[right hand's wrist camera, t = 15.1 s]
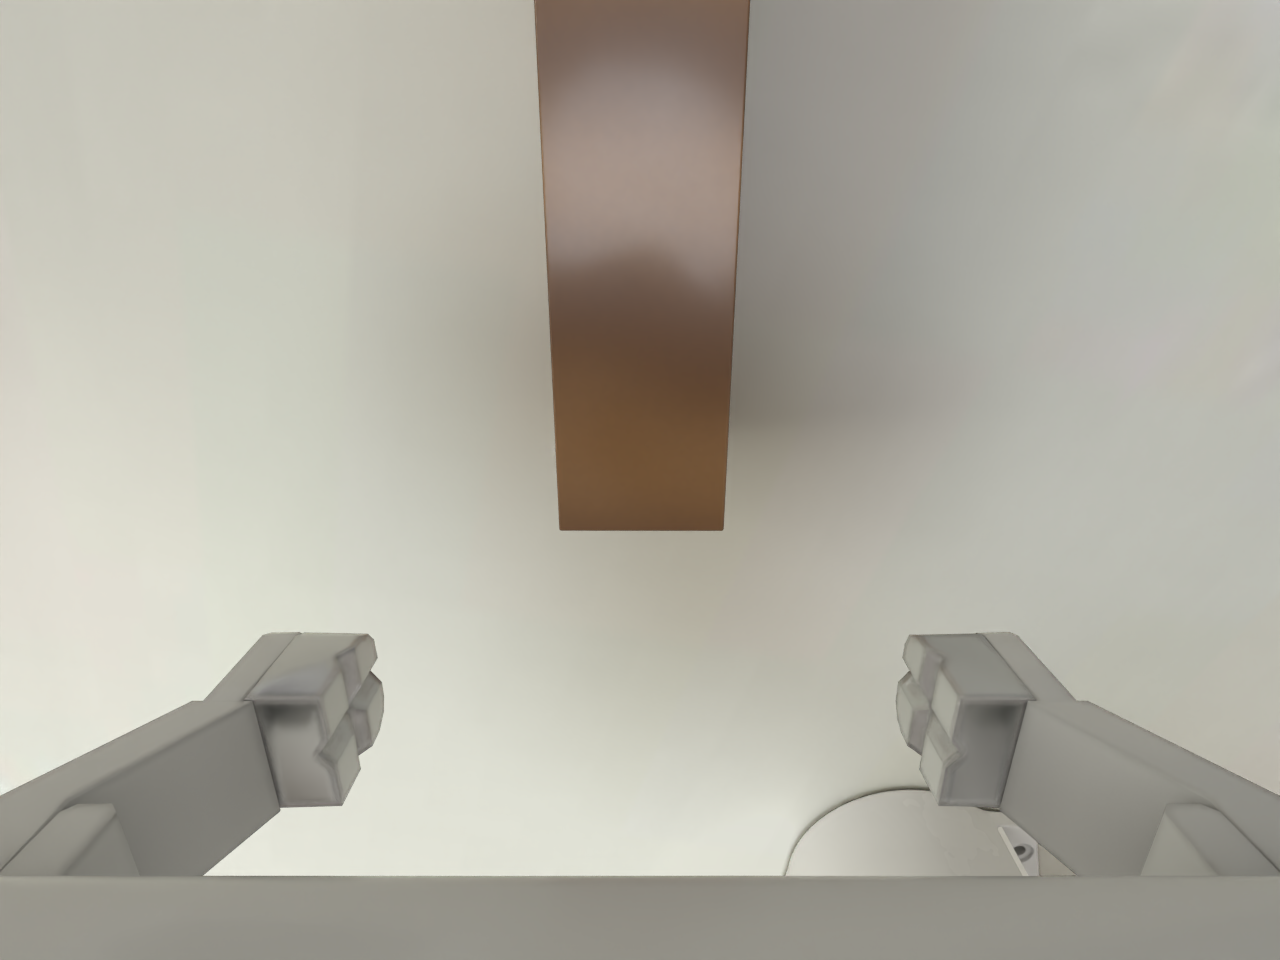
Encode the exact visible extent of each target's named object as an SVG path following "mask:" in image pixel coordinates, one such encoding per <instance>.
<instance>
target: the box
mask: <svg viewBox="0 0 1280 960" xmlns="http://www.w3.org/2000/svg"><path fill="white" fill-rule="evenodd" d="M534 7H535V28H536V49H537V70H538V91H539V112H540V133H541V154H542V175H543V196H544V216H545V237H546V258H547V279H548V300H549V321H550V342H551V363H552V384H553V405H554V426H555V447H556V468H557V489H558V509H559V529H560V530H589V531H722V530H723V529H724V510H725V490H726V470H727V450H728V431H729V411H730V391H731V371H732V351H733V331H734V311H735V291H736V271H737V251H738V232H739V212H740V192H741V172H742V152H743V132H744V112H745V92H746V72H747V52H748V33H749V13H750V0H534Z"/></svg>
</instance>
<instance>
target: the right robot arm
mask: <svg viewBox="0 0 1280 960" xmlns="http://www.w3.org/2000/svg"><path fill="white" fill-rule="evenodd" d="M377 658H378V657H377V652H376V648H375V643H374V639H373V638H372V637H371V636H370V635H369V634H352V633H300V632H272V633H268V634H265V635H262V637H261V638H260V639H259V640H258V641H257V642H256V643H255V644H254V645H253V646H252V647H251V649H250V650H249V651H248V652H247V653H246V654H245V655H244V656H243V657H242V659H241V660H240V661H239V662H238V663H237V664H236V665H235V666H234V667H233V669H232V670H231V671H230V672H229V673H228V674H227V675H226V676H225V677H224V678H223V680H222V681H221V682H220V683H219V684H218V685H217V686H216V687H215V688H214V690H213V691H212V692H211V693H210V694H209V695H208V696H207V697H206V698H205V699H204V701H191V702H189V703H187V704H185V705H183V706H181V707H179V708H177V709H175V710H173V711H171V712H169V713H167V714H165V715H163V716H161V717H159V718H157V719H155V720H153V721H151V722H149V723H147V724H145V725H143V726H141V727H139V728H137V729H135V730H132V731H130V732H128V733H126V734H124V735H122V736H120V737H118V738H116V739H114V740H112V741H110V742H108V743H106V744H104V745H102V746H100V747H98V748H96V749H94V750H92V751H90V752H88V753H86V754H84V755H82V756H80V757H78V758H76V759H74V760H72V761H70V762H68V763H66V764H64V765H62V766H60V767H58V768H56V769H54V770H51V771H49V772H47V773H45V774H43V775H41V776H39V777H37V778H35V779H33V780H31V781H29V782H27V783H25V784H23V785H21V786H19V787H17V788H15V789H13V790H11V791H9V792H7V793H5V794H3V795H1V796H0V960H1280V796H1279V795H1277V794H1275V793H1273V792H1271V791H1269V790H1266V789H1264V788H1262V787H1260V786H1258V785H1256V784H1254V783H1252V782H1250V781H1248V780H1246V779H1244V778H1242V777H1240V776H1238V775H1236V774H1234V773H1232V772H1230V771H1228V770H1226V769H1224V768H1222V767H1220V766H1218V765H1216V764H1214V763H1212V762H1210V761H1208V760H1206V759H1204V758H1202V757H1200V756H1198V755H1196V754H1194V753H1192V752H1190V751H1188V750H1186V749H1184V748H1182V747H1180V746H1178V745H1176V744H1174V743H1172V742H1170V741H1168V740H1166V739H1164V738H1161V737H1159V736H1157V735H1155V734H1153V733H1151V732H1149V731H1147V730H1145V729H1143V728H1141V727H1139V726H1137V725H1135V724H1133V723H1131V722H1129V721H1127V720H1125V719H1123V718H1121V717H1119V716H1117V715H1115V714H1113V713H1111V712H1109V711H1107V710H1105V709H1103V708H1101V707H1099V706H1097V705H1095V704H1093V703H1091V702H1089V701H1076V699H1075V698H1074V697H1073V696H1072V695H1071V694H1070V693H1069V692H1068V691H1067V690H1066V688H1065V687H1064V686H1063V685H1062V684H1061V683H1060V682H1059V681H1058V680H1057V678H1056V677H1055V676H1054V675H1053V674H1052V673H1051V672H1050V671H1049V670H1048V668H1047V667H1046V666H1045V665H1044V664H1043V663H1042V662H1041V661H1040V660H1039V659H1038V657H1037V656H1036V655H1035V654H1034V653H1033V652H1032V651H1031V650H1030V649H1029V647H1028V646H1027V645H1026V644H1025V643H1024V642H1023V641H1022V640H1021V639H1020V638H1019V636H1017V635H1015V634H1013V633H1011V632H991V633H976V634H925V635H909V637H908V639H907V641H906V643H905V646H904V652H903V657H902V658H903V660H904V661H905V663H906V665H907V667H908V668H909V670H910V671H909V672H908V673H907V674H906V675H905V676H904V677H903V678H902V679H901V680H900V681H899V682H898V688H897V695H896V709H897V720H898V723H899V726H900V730H901V733H902V735H903V737H904V739H905V741H906V744H907V746H909V747H910V748H911V749H913V750H914V751H916V752H917V753H919V754H920V755H921V756H922V757H921V762H920V768H919V770H920V772H921V773H922V775H923V777H924V779H925V781H926V783H927V785H928V787H929V789H930V791H926V790H894V791H886V792H881V793H876V794H872V795H868V796H865V797H861V798H858V799H856V800H853V801H851V802H848V803H846V804H844V805H842V806H840V807H838V808H836V809H834V810H833V811H831V812H829V813H828V814H826V815H825V816H823V817H822V818H821V819H820V820H818V821H817V822H816V823H815V824H814V825H813V826H812V827H811V828H810V829H809V830H808V831H807V832H806V833H805V834H804V835H803V836H802V838H801V839H800V841H799V842H798V844H797V845H796V847H795V849H794V851H793V853H792V855H791V858H790V861H789V865H788V868H787V872H786V874H785V876H203V875H204V874H205V873H206V872H208V871H209V870H210V869H211V868H212V867H214V866H215V865H216V864H217V863H218V862H220V861H221V860H222V859H223V858H224V857H226V856H227V855H228V854H229V853H230V852H232V851H233V850H234V849H235V848H236V847H238V846H239V845H240V844H241V843H242V842H244V841H245V840H246V839H247V838H248V837H250V836H251V835H252V834H253V833H254V832H256V831H257V830H258V829H259V828H260V827H262V826H263V825H264V824H265V823H266V822H268V821H269V820H270V819H271V818H272V817H274V816H275V815H276V814H277V813H278V812H280V808H283V807H318V806H342V805H343V803H344V801H345V799H346V797H347V795H348V793H349V791H350V789H351V787H352V785H353V783H354V781H355V779H356V777H357V775H358V773H359V772H360V770H361V768H360V762H359V757H358V756H359V755H360V754H361V753H363V752H364V751H366V750H367V749H369V748H370V747H371V746H373V744H374V741H375V739H376V737H377V735H378V733H379V731H380V726H381V722H382V717H383V713H384V693H383V687H382V682H381V681H380V680H379V679H378V678H377V677H376V676H375V675H374V674H373V673H372V672H371V671H370V670H371V668H372V667H373V665H374V663H375V661H376V660H377ZM977 807H997V808H1000V810H999V811H1001V812H993V811H986V810H982V809H980V808H977ZM1037 842H1038V843H1039V844H1040V845H1041V846H1043V847H1044V848H1045V849H1046V850H1047V851H1049V852H1050V853H1051V854H1052V855H1053V856H1055V857H1056V858H1057V859H1058V860H1059V861H1061V862H1062V863H1063V864H1064V865H1065V866H1067V867H1068V868H1069V869H1070V870H1071V871H1073V872H1074V873H1075V874H1076V875H1077V876H1039V862H1038V847H1037Z"/></svg>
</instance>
